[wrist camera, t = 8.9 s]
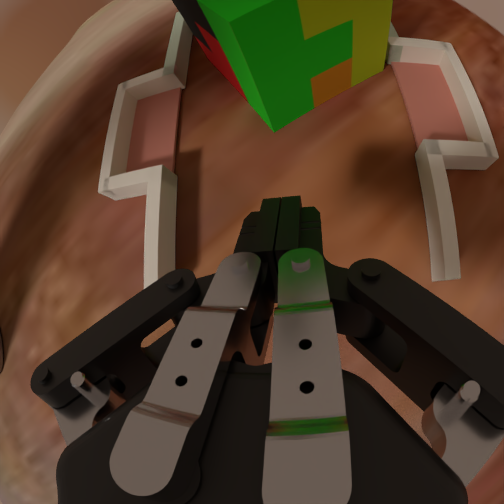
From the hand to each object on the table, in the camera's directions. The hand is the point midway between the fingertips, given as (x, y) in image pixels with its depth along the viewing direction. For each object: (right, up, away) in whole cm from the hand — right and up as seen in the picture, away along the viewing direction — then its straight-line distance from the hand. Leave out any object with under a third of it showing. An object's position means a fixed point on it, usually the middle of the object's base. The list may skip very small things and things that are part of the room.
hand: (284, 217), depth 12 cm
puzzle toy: (+2, +13, +7) cm, 15 cm away
